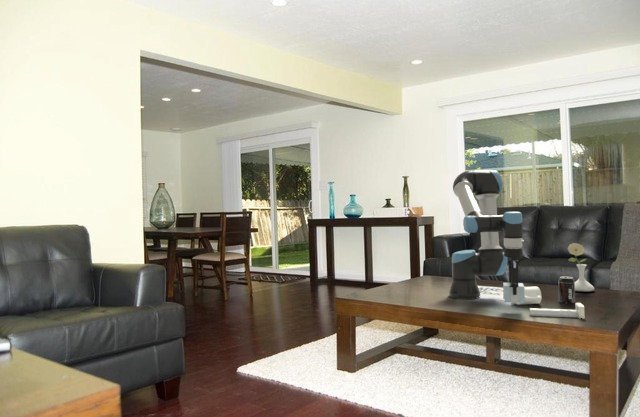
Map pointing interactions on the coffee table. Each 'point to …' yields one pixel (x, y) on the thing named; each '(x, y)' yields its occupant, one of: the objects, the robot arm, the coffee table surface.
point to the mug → (532, 295)
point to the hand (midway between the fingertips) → (513, 299)
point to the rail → (560, 312)
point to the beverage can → (566, 290)
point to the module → (508, 293)
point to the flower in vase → (580, 268)
